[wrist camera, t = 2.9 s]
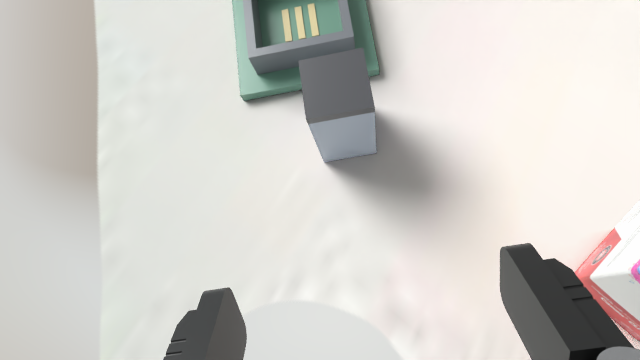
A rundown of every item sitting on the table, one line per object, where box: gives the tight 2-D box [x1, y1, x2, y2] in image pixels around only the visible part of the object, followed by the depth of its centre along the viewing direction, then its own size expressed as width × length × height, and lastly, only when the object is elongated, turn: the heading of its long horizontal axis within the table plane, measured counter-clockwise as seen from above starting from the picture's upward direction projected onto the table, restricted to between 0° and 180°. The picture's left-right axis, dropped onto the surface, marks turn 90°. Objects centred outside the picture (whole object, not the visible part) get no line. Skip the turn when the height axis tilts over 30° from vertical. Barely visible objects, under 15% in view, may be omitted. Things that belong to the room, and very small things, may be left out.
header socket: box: [232, 0, 379, 101], centre depth 30 cm, size 10×10×3 cm
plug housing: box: [298, 48, 376, 162], centre depth 26 cm, size 4×4×7 cm
